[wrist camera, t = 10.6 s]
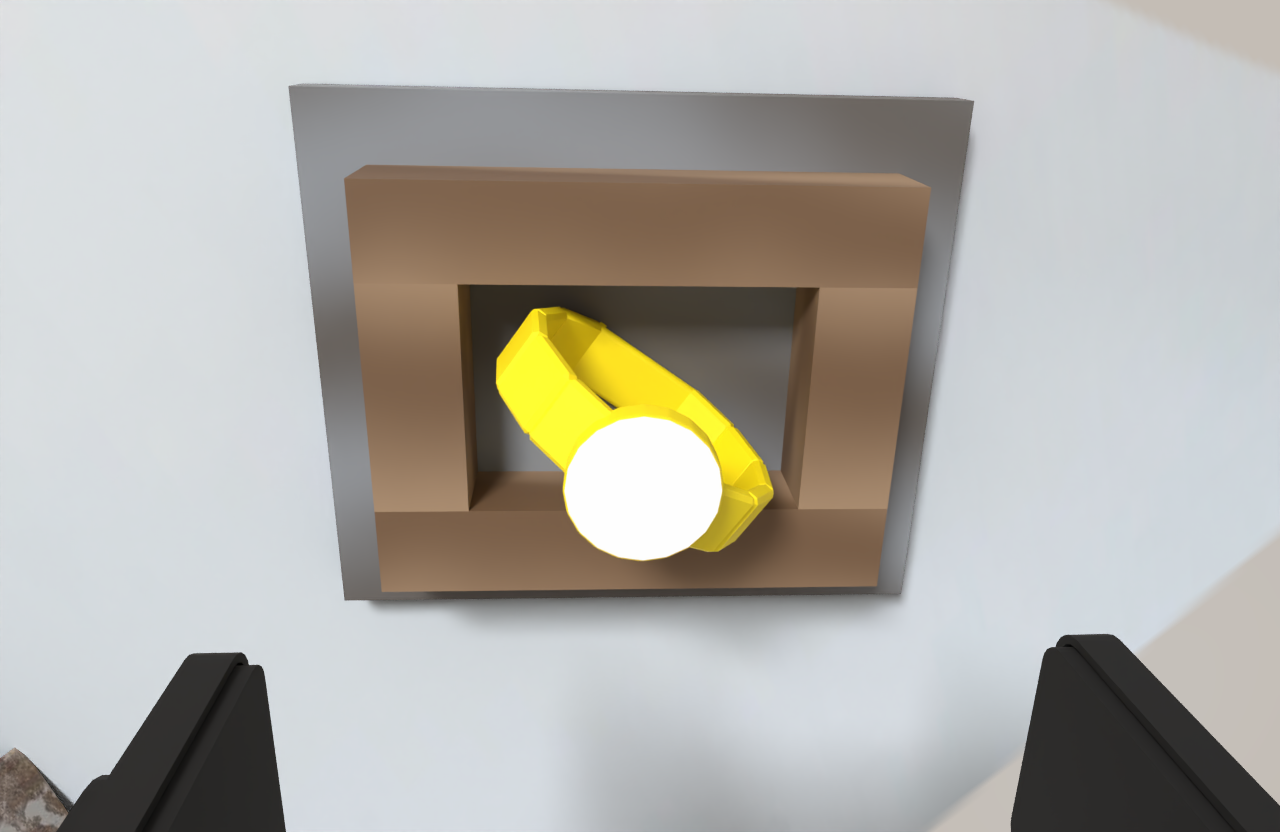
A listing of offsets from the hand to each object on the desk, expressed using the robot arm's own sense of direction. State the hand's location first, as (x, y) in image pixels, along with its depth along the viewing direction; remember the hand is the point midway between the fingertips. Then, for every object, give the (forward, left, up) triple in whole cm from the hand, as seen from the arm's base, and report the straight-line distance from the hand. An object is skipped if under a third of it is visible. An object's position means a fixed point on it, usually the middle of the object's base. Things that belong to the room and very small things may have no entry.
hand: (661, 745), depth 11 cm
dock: (+1, 0, -12) cm, 12 cm away
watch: (+1, 0, -12) cm, 12 cm away
